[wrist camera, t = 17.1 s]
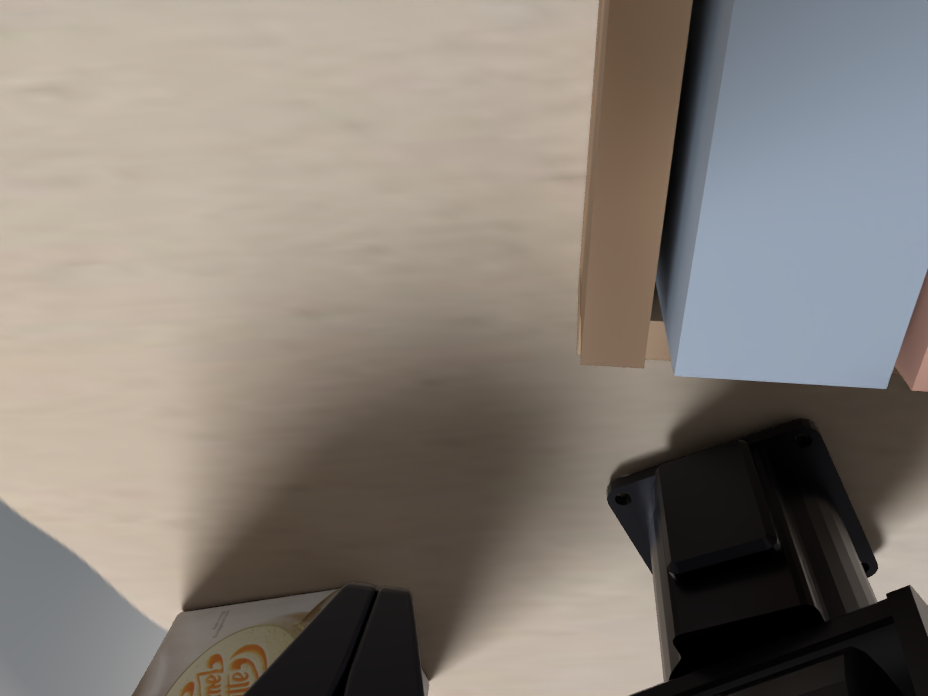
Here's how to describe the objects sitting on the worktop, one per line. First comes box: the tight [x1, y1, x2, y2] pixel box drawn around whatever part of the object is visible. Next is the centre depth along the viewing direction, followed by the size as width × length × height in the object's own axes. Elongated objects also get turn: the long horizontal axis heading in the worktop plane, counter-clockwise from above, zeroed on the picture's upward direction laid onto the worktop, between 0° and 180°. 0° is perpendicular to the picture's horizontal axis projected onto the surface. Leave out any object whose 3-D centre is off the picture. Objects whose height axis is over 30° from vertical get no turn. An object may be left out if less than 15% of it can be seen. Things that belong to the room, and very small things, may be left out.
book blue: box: [656, 0, 928, 389], centre depth 13 cm, size 4×7×6 cm, turn 1°
